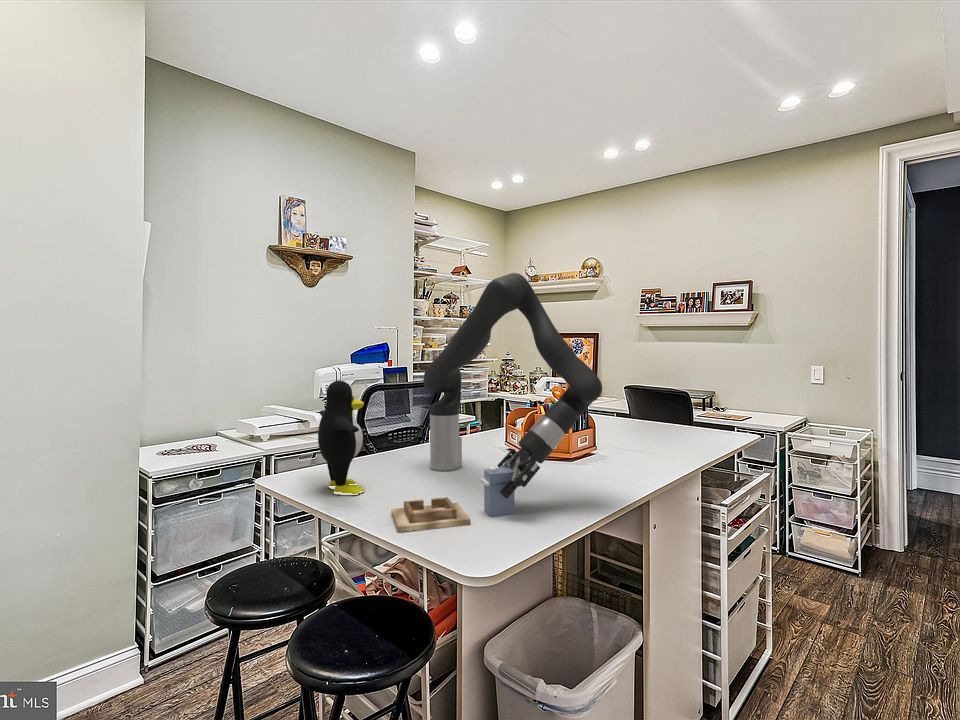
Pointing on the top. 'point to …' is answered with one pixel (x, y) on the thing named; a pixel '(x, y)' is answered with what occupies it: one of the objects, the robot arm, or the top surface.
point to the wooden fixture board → (429, 515)
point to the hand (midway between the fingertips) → (497, 490)
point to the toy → (340, 435)
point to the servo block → (497, 492)
